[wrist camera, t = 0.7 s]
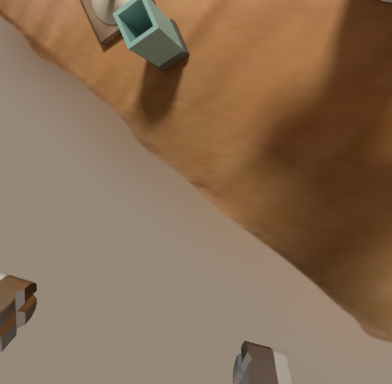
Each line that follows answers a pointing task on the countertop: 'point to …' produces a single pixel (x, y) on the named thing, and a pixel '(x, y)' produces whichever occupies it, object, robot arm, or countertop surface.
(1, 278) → the robot arm
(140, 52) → the teal sleeve
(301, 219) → the countertop surface
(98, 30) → the pin board
